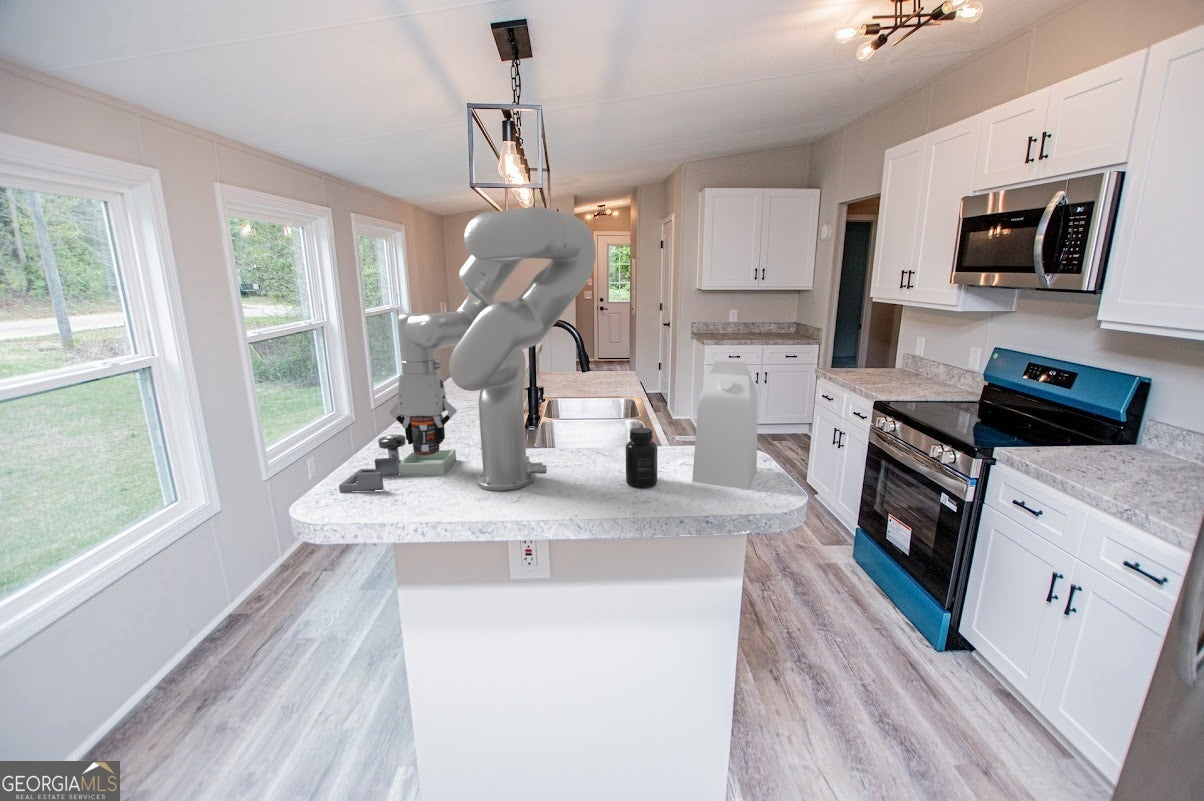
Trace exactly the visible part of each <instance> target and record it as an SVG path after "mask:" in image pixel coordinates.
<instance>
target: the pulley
mask: <svg viewBox="0 0 1204 801" xmlns="http://www.w3.org/2000/svg"><path fill="white" fill-rule="evenodd" d="M406 441H407V440H406V435H403V434H394V433H393V434H388V435H385V436H381V437H380V438H378V440H377V442H378V447H379V448H380V449H384V450H387V454H388V458H398V461H399V464H400V463H401V462H402V461H403V459H400V453H399V452H400V450H399V448H401V447H404V446H405V445H406V444H407V442H406Z"/></svg>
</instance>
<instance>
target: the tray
mask: <svg viewBox="0 0 1204 801" xmlns="http://www.w3.org/2000/svg"><path fill="white" fill-rule="evenodd" d="M456 453H457V452H456V449H439V451H438V452H437V453H435V454H431V455H417V454H415V453H414V450H413V451H412V452H411V453H409V455H407V456H406V457H405V458H404V459H402V462H401V463H400V464H399V473H400V475H399V476H400V477H415V476H417V477H418V476H421V475H423V477H424V476H425V475H427V476H445V475H446V474H445V473H447V472H448V471H449V470H450V469H451V467H452V466H453V465H454V464H453V463H456V461H457V455H456ZM452 464H453V465H452ZM449 468H450V469H449ZM448 469H449V470H448ZM421 477H422V476H421Z"/></svg>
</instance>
